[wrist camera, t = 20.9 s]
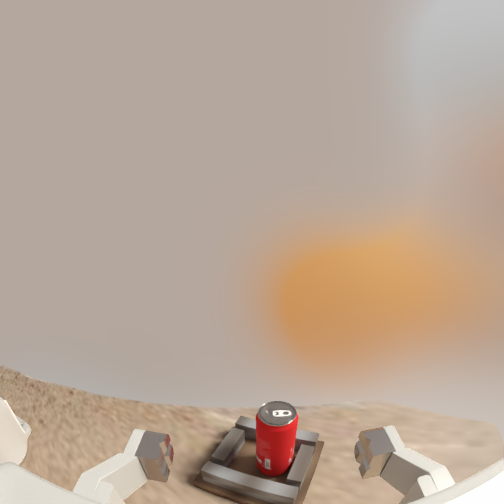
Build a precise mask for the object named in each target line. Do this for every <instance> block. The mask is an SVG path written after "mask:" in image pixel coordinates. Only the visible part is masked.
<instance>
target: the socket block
mask: <svg viewBox="0 0 504 504" xmlns="http://www.w3.org/2000/svg"><path fill="white" fill-rule="evenodd" d="M235 424H236V427H235V428H234V427H232V429H231V430H230V432H229V433H228V434H227V436H226V437H225V438H224V440H223V441H222V442H221V444H220V445H219V446H218V448H217V449H216V450H215V452H214V453H213V454H212V456H211V458H212V459H211V461H207V462H206V463H205V465H204V466H203V467H202V468H201V473H200V475H199V476H198V477H197V479H196V480H195V481H194V485H195V486H198V487H200V488H202V489H205V490H207V491H210V492H212V493H215V494H218V495H220V496H223V497H226V498H229V499H231V500H234V501H237V502H240V503H243V504H302V503H303V501H304V498H305V496H306V493H307V490H308V488H309V485H310V483H311V480H312V477H313V474H314V472H315V469H316V466H317V463H318V460H319V457H320V454H321V451H322V448H323V445H324V442H323V441H318V437H319V433H314V432H308V431H303V430H298V429H297V431H296V439H295V446H294V453H293V460H292V465H291V467H290V469H289V470H288V471H287V472H286V473H284V474H283V475H281V476H277V477H271V476H267V475H265V474H263V473H262V472H261V471H260V470H259V469H258V467H257V465H256V420H254V419H250V418H246V417H243V416H240V418H239V419H238V420H237V422H236V423H235Z"/></svg>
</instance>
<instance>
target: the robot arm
mask: <svg viewBox="0 0 504 504" xmlns="http://www.w3.org/2000/svg"><path fill="white" fill-rule="evenodd" d="M0 1H1V0H0ZM30 433H31V428H30V426H29V425H28V424H27V423H26V422H24V421H23V420H22V419H20V418H19V417H18V416H16V415H15V414H14V413H13V412H12V410H11V408H10V406H9V405H8V403H7V401H6V400H3V399H2V398H1V397H0V504H125V502H124V501H123V500H124V499H126V498H127V497H128V496H130V495H131V494H132V493H133V492H135V491H136V490H137V489H138V488H140V487H141V486H142V485H143V484H144V483H146V482H147V481H148V479H149V480H154V481H160V482H167V479H168V476H169V472H170V471H169V468H168V466H170V465H171V464H172V461H173V454H174V453H173V447H172V445H171V444H169V442H170V437H169V435H168V434H162V433H156V432H151V431H145V430H140V429H135V430H134V431H133V432H132V434H131V436H130V439H129V441H128V443H127V445H126V447H125V449H124V451H123V453H118V454H117V455H115V456H113V457H111V458H110V459H108V460H106V461H104V462H102V463H101V464H99V465H97V466H95V467H93V468H91V469H89V470H88V471H86V472H84V473H82V475H81V476H80V478H79V480H78V482H77V484H76V486H75V488H74V490H73V491H72V492H71V491H68V490H66V489H64V488H62V487H59V486H57V485H55V484H53V483H51V482H49V481H47V480H45V479H43V478H41V477H39V476H37V475H35V474H33V473H31V472H29V471H28V470H26V469H24V468H22V467H21V466H19V464H20V463H21V462H22V461H23V459H24V457H25V455H26V452H27V440H28V437H29V436H30ZM355 458H356V461H357V462H358V463H360V464H361V465H360V467H359V470H360V473H361V476H362V479H365V478H370V477H375V476H379V475H380V477H382V478H383V479H384V480H385V481H387V482H388V483H389V484H390V485H392V486H393V487H394V488H396V489H397V490H398V491H400V492H401V493H402V494H404V495H405V497H404V498H403V499H402V500H401V502H400V503H399V504H504V458H502V459H500V460H499V461H497V462H496V463H494V464H492V465H491V466H489V467H487V468H485V469H484V470H482V471H480V472H478V473H476V474H474V475H473V476H471V477H469V478H467V479H465V480H463V481H461V482H459V483H457V484H455V482H454V481H453V479H452V477H451V475H450V474H449V472H448V470H447V468H446V467H445V466H443V465H441V464H439V463H437V462H435V461H433V460H431V459H429V458H427V457H425V456H423V455H421V454H419V453H417V452H416V451H414V450H412V449H410V448H405V446H404V444H403V442H402V440H401V438H400V436H399V434H398V433H397V431H396V429H395V427H394V426H393V425H391V426H386V427H382V428H376V429H371V430H366V431H361V432H360V434H359V441H358V442H357V443H356V445H355Z"/></svg>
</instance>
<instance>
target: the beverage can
mask: <svg viewBox="0 0 504 504" xmlns="http://www.w3.org/2000/svg"><path fill="white" fill-rule="evenodd" d="M297 423H298V415H297V412H296V409H295V408H294V407H293V406H292V405H291V404H289V403H286V402H282V401H273V402H268V403H266V404H264V405H262V406H261V407H260V409H259V410H258V413H257V415H256V465H257V467H258V469H259V470H260V471H261V472H262V473H263V474H265V475H267V476H271V477H277V476H281V475H283V474H284V473H286V472H287V471H288V470H289V469H290V467H291V465H292V460H293V453H294V446H295V439H296V431H297Z"/></svg>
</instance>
